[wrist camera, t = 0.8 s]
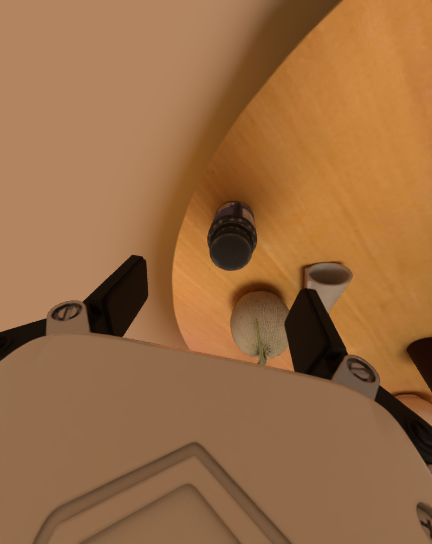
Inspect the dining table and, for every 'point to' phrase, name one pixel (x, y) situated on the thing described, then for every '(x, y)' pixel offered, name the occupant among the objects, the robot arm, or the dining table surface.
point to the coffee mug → (422, 358)
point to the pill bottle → (232, 236)
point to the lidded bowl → (417, 406)
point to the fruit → (260, 325)
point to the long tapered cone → (327, 281)
